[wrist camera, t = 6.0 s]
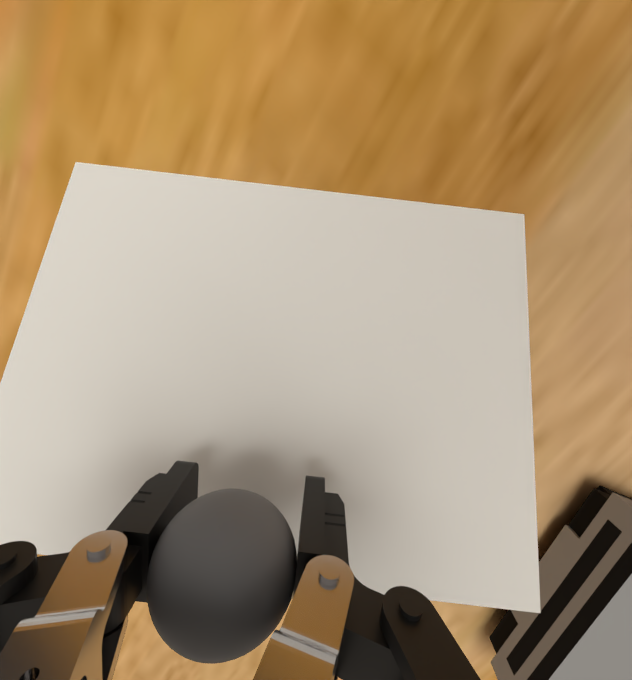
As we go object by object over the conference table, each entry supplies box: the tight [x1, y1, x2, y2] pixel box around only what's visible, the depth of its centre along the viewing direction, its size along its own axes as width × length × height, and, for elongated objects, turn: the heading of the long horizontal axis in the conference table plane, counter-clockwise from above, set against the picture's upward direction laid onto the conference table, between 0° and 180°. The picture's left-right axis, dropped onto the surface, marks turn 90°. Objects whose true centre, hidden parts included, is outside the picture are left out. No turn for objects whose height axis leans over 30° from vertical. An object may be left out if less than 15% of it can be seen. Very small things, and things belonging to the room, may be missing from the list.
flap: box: [0, 162, 541, 663], centre depth 14 cm, size 24×18×10 cm
